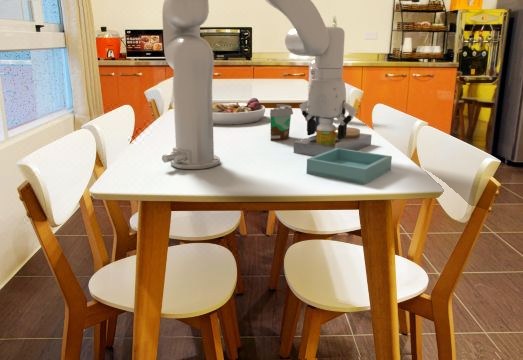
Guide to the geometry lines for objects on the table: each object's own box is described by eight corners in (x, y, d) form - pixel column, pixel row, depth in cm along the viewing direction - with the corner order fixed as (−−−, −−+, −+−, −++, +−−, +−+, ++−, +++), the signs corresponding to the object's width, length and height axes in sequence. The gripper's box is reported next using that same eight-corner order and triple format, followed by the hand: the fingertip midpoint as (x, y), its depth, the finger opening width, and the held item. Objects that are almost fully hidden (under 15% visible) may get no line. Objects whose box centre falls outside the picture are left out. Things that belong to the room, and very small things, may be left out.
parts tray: (364, 184, 107) (365, 169, 106) (306, 173, 115) (306, 159, 114) (390, 170, 118) (391, 156, 117) (336, 160, 127) (336, 147, 126)
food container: (289, 142, 148) (290, 110, 145) (269, 141, 149) (270, 109, 146) (294, 134, 160) (295, 104, 157) (276, 134, 161) (277, 104, 158)
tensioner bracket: (334, 159, 128) (335, 142, 127) (293, 152, 136) (294, 136, 134) (370, 144, 146) (371, 129, 145) (332, 139, 153) (333, 125, 152)
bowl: (206, 129, 170) (205, 107, 168) (177, 116, 195) (176, 97, 193) (279, 122, 184) (279, 101, 182) (243, 111, 209) (243, 93, 207)
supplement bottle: (319, 154, 134) (320, 119, 131) (313, 149, 139) (314, 116, 136) (337, 153, 135) (339, 118, 132) (331, 149, 140) (332, 115, 137)
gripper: (294, 73, 133) (292, 135, 138) (351, 77, 123) (347, 142, 128) (308, 72, 139) (306, 131, 144) (363, 75, 129) (359, 138, 134)
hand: (325, 136), depth 136 cm, fingers open, 9 cm apart
